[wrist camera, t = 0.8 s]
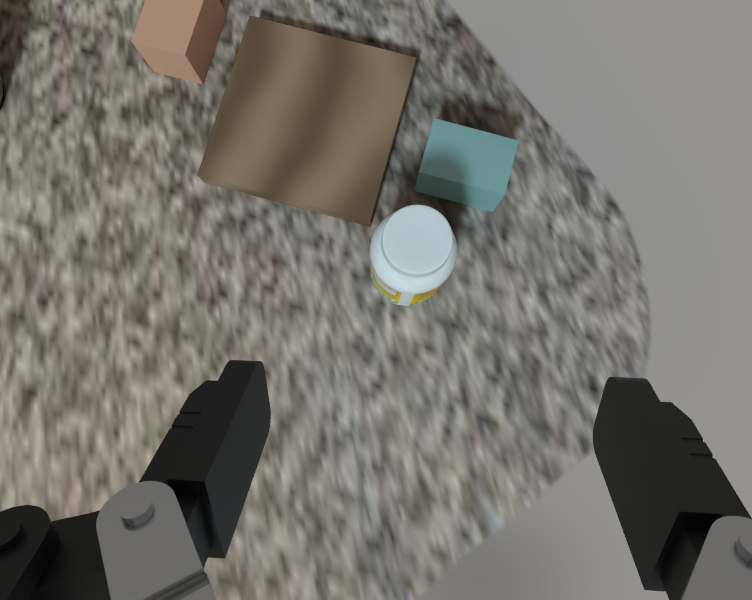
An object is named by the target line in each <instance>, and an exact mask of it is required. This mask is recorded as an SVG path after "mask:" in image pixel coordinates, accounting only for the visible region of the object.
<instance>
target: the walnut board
mask: <svg viewBox="0 0 752 600" xmlns="http://www.w3.org/2000/svg"><path fill="white" fill-rule="evenodd" d="M415 65H416V57H413V56H409V55H405V54H401V53H397V52H393V51H389V50H385V49H381V48H377V47H373V46H369V45H365V44H361V43H357V42H353V41H349V40H345V39H341V38H337V37H333V36H329V35H325V34H321V33H317V32H313V31H309V30H305V29H301V28H297V27H294V26H290V25H286V24H282V23H278V22H274V21H270V20H266V19H262V18H258V17H254V16H250V17H249V20H248V23H247V26H246V29H245V32H244V35H243V38H242V41H241V45H240V48H239V51H238V54H237V57H236V60H235V63H234V66H233V69H232V72H231V75H230V78H229V81H228V84H227V87H226V90H225V93H224V96H223V99H222V102H221V105H220V108H219V111H218V114H217V117H216V120H215V123H214V126H213V129H212V132H211V135H210V138H209V142H208V145H207V148H206V151H205V154H204V157H203V160H202V163H201V166H200V169H199V172H198V176H199V177H200V178H201V179H202V180H203V182H205V183H209V184H213V185H216V186H220V187H224V188H228V189H231V190H235V191H239V192H243V193H246V194H250V195H254V196H258V197H262V198H265V199H269V200H273V201H277V202H280V203H284V204H288V205H292V206H295V207H299V208H303V209H307V210H310V211H314V212H318V213H322V214H326V215H329V216H333V217H337V218H341V219H344V220H348V221H352V222H356V223H359V224H363V225H367V226H371V223H372V219H373V216H374V212H375V209H376V205H377V202H378V198H379V195H380V191H381V187H382V184H383V180H384V177H385V173H386V170H387V166H388V163H389V159H390V156H391V152H392V149H393V145H394V141H395V138H396V134H397V131H398V127H399V124H400V120H401V117H402V113H403V110H404V106H405V103H406V99H407V95H408V92H409V88H410V85H411V81H412V78H413V74H414V71H415Z"/></svg>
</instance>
